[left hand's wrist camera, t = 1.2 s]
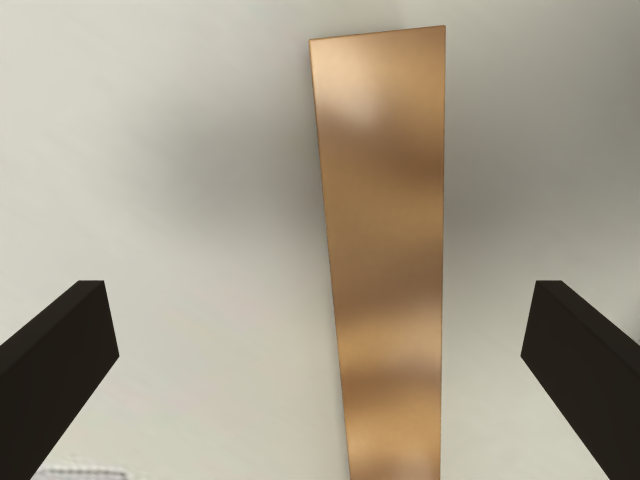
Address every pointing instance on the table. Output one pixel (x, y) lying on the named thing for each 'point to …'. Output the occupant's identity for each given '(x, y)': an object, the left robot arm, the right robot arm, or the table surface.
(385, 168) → the bar
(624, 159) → the table surface
